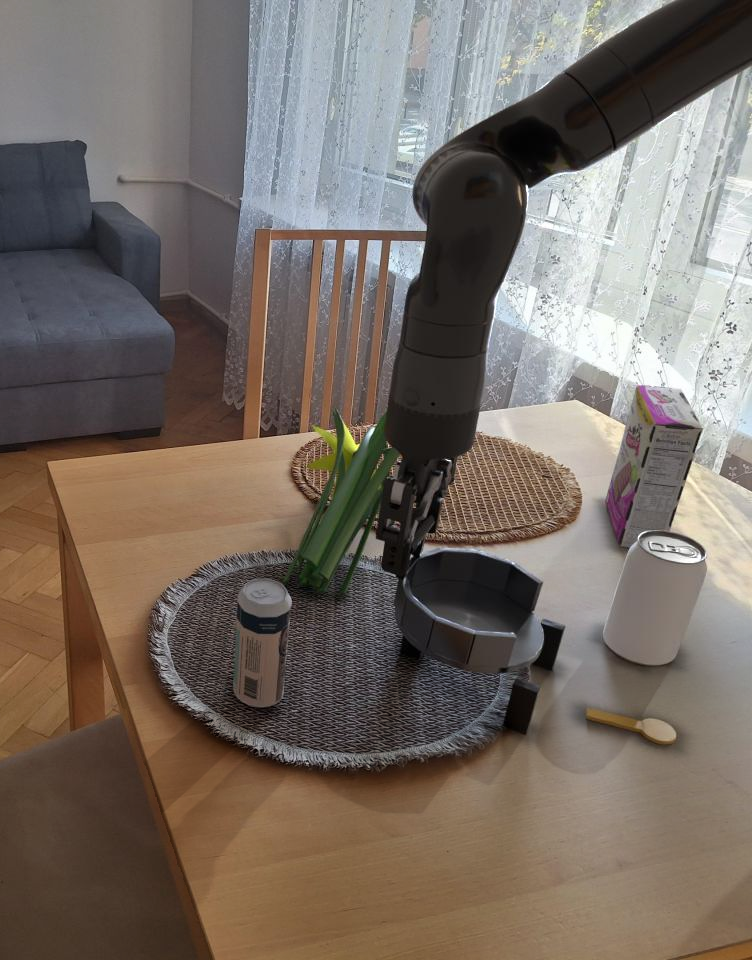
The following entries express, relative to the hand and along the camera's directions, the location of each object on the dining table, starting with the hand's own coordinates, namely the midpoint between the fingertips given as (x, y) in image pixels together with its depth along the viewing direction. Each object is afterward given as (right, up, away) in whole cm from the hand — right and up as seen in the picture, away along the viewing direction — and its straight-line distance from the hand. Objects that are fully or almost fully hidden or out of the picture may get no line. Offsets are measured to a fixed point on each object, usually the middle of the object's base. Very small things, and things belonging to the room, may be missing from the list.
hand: (409, 550), depth 82 cm
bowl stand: (+6, -12, +2) cm, 14 cm away
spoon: (+18, -15, -5) cm, 24 cm away
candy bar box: (+35, +1, +23) cm, 42 cm away
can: (+24, -10, +4) cm, 27 cm away
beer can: (-14, -14, 0) cm, 20 cm away
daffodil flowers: (+2, 0, +24) cm, 24 cm away
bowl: (+5, -7, 0) cm, 9 cm away
